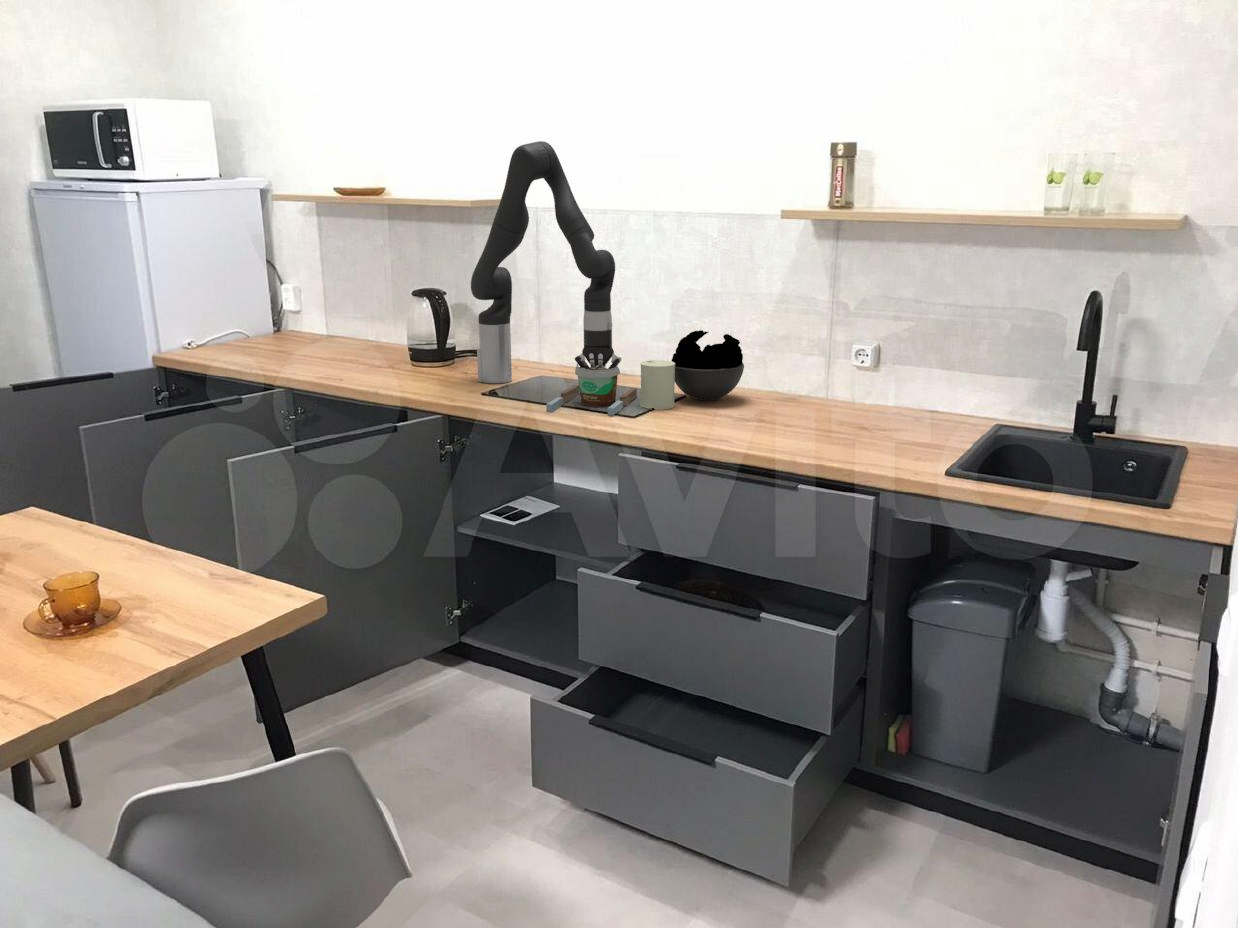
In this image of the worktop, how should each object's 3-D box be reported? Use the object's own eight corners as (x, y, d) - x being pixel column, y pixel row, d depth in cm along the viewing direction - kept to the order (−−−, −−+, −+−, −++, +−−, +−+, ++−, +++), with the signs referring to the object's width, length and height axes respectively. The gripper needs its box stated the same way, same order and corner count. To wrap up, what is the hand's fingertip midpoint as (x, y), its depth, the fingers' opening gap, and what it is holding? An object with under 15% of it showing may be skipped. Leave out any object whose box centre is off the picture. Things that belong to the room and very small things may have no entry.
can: (656, 400, 268) (657, 357, 265) (681, 406, 262) (682, 361, 259) (632, 405, 262) (633, 361, 259) (658, 411, 256) (658, 365, 253)
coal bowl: (658, 395, 275) (658, 327, 270) (723, 390, 282) (725, 324, 277) (687, 410, 257) (688, 338, 252) (755, 404, 264) (758, 334, 259)
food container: (569, 406, 262) (568, 369, 259) (576, 399, 268) (575, 363, 264) (614, 408, 259) (614, 371, 256) (620, 402, 265) (620, 365, 261)
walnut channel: (560, 402, 266) (560, 393, 265) (574, 393, 277) (574, 384, 276) (625, 406, 261) (625, 397, 261) (636, 397, 273) (636, 388, 272)
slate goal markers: (546, 411, 255) (546, 404, 255) (557, 404, 264) (557, 397, 263) (613, 416, 251) (613, 408, 250) (622, 408, 259) (622, 401, 259)
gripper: (569, 328, 260) (570, 393, 265) (618, 330, 256) (618, 395, 261) (578, 324, 267) (579, 387, 272) (625, 326, 263) (625, 389, 268)
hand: (598, 391), depth 266 cm, fingers closed
